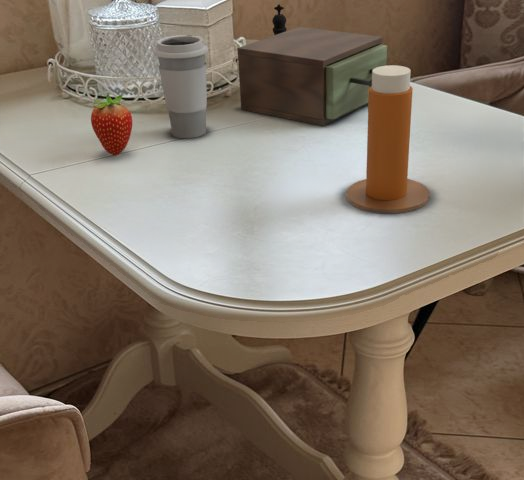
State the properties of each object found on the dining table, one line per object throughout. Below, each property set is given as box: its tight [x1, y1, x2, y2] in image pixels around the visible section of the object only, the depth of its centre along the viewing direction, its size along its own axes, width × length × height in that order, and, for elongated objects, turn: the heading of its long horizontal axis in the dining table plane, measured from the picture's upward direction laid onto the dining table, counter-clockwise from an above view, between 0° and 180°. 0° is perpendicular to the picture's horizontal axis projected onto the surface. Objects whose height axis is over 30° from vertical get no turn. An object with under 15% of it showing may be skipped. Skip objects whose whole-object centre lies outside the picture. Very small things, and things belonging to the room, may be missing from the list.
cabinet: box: [236, 26, 383, 127], centre depth 113 cm, size 15×15×9 cm
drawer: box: [326, 44, 388, 119], centre depth 111 cm, size 18×13×7 cm
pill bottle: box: [365, 64, 414, 200], centre depth 83 cm, size 4×4×13 cm
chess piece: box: [271, 4, 288, 36], centre depth 130 cm, size 4×4×10 cm
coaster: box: [345, 178, 431, 214], centre depth 87 cm, size 9×9×1 cm
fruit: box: [90, 91, 133, 157], centre depth 100 cm, size 5×5×8 cm
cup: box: [153, 34, 209, 139], centre depth 104 cm, size 7×7×12 cm
